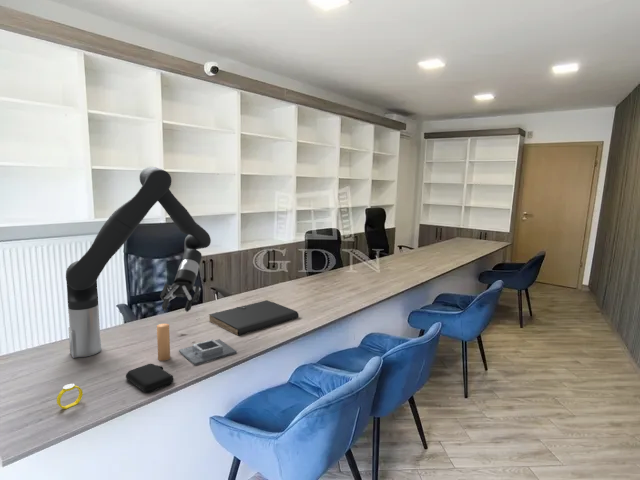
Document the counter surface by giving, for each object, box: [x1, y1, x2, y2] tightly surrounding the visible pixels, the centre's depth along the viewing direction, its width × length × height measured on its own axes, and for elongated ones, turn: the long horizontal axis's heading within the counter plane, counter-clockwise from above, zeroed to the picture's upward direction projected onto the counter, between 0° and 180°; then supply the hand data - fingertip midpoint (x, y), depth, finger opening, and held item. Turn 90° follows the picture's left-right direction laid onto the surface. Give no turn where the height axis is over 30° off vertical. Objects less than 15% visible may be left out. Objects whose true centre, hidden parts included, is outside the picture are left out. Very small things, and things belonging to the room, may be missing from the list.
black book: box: [208, 299, 300, 337], centre depth 176 cm, size 33×4×24 cm
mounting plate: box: [178, 338, 238, 366], centre depth 140 cm, size 16×14×3 cm
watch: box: [56, 383, 84, 410], centre depth 104 cm, size 6×3×6 cm, turn 148°
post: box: [156, 323, 171, 362], centre depth 134 cm, size 4×4×12 cm
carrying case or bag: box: [125, 363, 174, 394], centre depth 119 cm, size 11×3×15 cm
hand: (175, 310), depth 143 cm, fingers open, 8 cm apart
